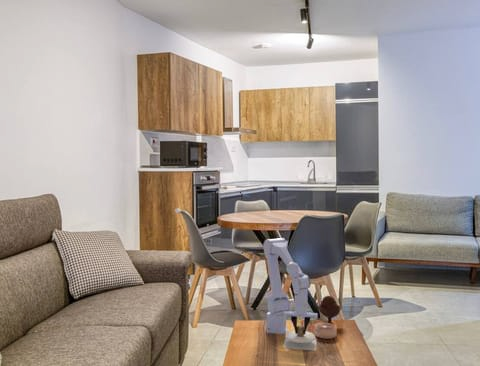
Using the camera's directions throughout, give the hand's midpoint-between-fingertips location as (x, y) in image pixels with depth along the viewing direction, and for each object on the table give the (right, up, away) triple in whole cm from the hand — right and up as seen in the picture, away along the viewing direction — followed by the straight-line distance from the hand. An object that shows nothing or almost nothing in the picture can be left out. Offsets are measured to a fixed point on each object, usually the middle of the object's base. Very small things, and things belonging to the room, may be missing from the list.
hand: (300, 333), depth 219 cm
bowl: (+13, -4, +9) cm, 16 cm away
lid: (0, -2, 0) cm, 2 cm away
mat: (0, -5, 0) cm, 5 cm away
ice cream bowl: (+17, -4, +25) cm, 30 cm away
